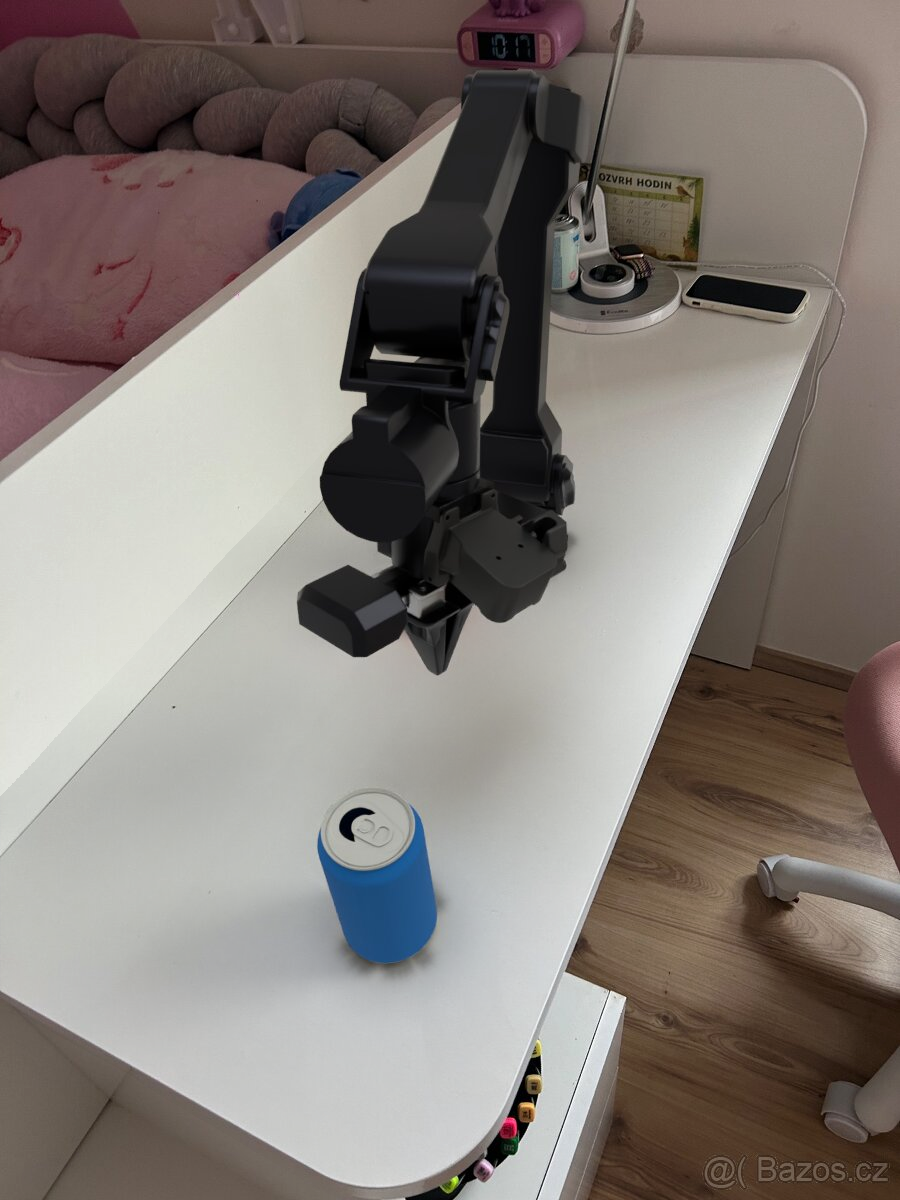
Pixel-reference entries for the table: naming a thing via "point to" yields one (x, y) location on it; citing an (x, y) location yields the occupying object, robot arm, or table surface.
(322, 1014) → the table surface
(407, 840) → the beverage can
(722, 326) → the table surface
